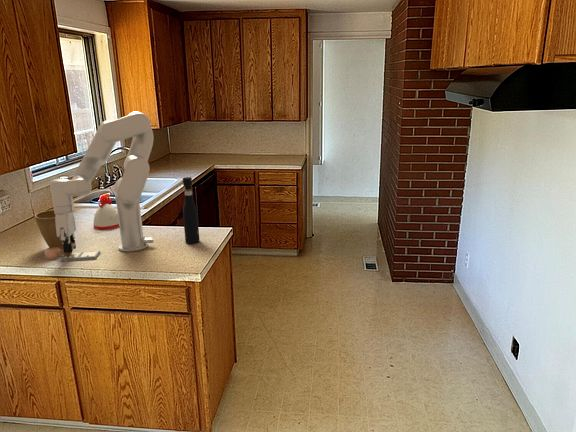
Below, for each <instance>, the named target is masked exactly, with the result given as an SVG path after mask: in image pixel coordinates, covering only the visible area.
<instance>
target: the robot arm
mask: <svg viewBox="0 0 576 432" xmlns="http://www.w3.org/2000/svg"><path fill="white" fill-rule="evenodd" d="M130 138H132V140H131V144H130V147H129V150H128V153H127V155H126V157H125V160H124V162H123V169H124V172H123V175H122V177H120V178H119V179H117V180H116V181H115V183H114V186H113V193H114V198H115V205H116V210H117V212H118V220H119V227H118V228H119V233H120V241H121V243H120V244H119V245H118V250H119V251H120V252H126V253H127V252H128V253H131V252H138V251H141V250H145V249H146V248H148V245H149V244H154V243H155V239H154V238H152V237H146V235H145V234H144V231H143V230H144V229H143V221H142V220H143V219H142V213H141V206H140V205H141V204H140V198H141V196H142V193H143V190H144V188H145V186H146V183H147V180H148V178H149V174H150V171H151V170H150V168H151V167H150V164H149V158H150V154H151V152H152V149H153V146H154V138H155V137H154V131H153V128H152V126H151V121H150V117H149V116H148V115H146V114H145V113H143V112H141V111H132V112H130V113H129V114H128V115H125V116H123V117H121V118H120V117H119V118H116V119H114V120H109V119H108V120H107V119H106V120H104V121H102V122H101V123H100V124H99V127H98V128H97V129H96V132H95V134H94V135H93V137H92V140H91V142H90V144H89V145H88V147H87V149H86V151H85V154H84V156H83V158H82V159H81V161H80V163H79V165H78V166H77V168H76V170H75V172H74V174H73V176H72V178H71V179H68V178H55V179H52V180H50V183H49V185H50V186H49V187H50V194H51V198H52V206H53V210H54V213H55V214H56V215H55V222H56V233H57V237H58V238H59V237H61V241H62V244H63V249H64V253H71V252H72V253H73V251H72V245H71V243H70V241H71V242H73V243H76V241H75V239H76V237H75V232H76V231H77V226H76V221H75V219H76V218H75V214H74V212H75V205H74V198H73V197H85V196H88V195H89V194H90V193H91V192H92V188H93V187H92V182H93V180H94V178H95V176H96V175H97V173H98V171H99V169H100V168H101V167H102V166H103V165H105V163H106V162H107V161H108V159H109V157H110V155H111V153H112V151H113V150H114V147H115V146H116V143H117V142H121V141H124V140H127V139H130ZM65 235H66V236H65ZM65 238H67V239H65ZM76 245H77V244H76ZM76 245H75V247H74V249H73V250H76V248H77V247H76Z"/></svg>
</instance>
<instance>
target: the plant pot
mask: <svg viewBox="0 0 576 432" xmlns="http://www.w3.org/2000/svg"><path fill="white" fill-rule="evenodd" d="M55 215H56V214H55V213H54V209H50V210H45V211H41V212H37V213H36V214H34V217H35V221H36V224H37V226H38V230H39V232H40V234H41V235H42V238H43V239H44V241H45V244H46V245H47V247H48V248H53V247H59V248H60V250H61V247H62V245H63V244H62V241H61V237H59V238H58V237H57V233H56V222H55ZM65 236H66V235H65ZM65 239H67V238H65Z"/></svg>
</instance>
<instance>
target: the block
mask: <svg viewBox="0 0 576 432" xmlns="http://www.w3.org/2000/svg"><path fill="white" fill-rule="evenodd" d="M70 243H71V245H72V252H71V253H64V249H63V245H62V247H61V249H60V252H59V253H60V254H61V255H63V256H64V255H65V256H68V257H69V256H70V255H71V254H72V253H73V251H74V250H75V249H74V247H75V245H77V243H76V242H75V243H73V242H71V241H70Z"/></svg>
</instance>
